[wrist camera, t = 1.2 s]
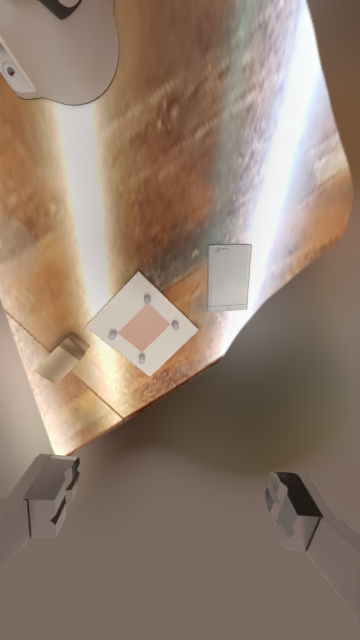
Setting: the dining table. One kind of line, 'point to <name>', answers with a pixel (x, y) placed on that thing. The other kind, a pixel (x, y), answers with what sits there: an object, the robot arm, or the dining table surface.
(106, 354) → the dining table surface
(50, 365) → the maple block
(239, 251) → the hard drive
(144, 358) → the pin base
